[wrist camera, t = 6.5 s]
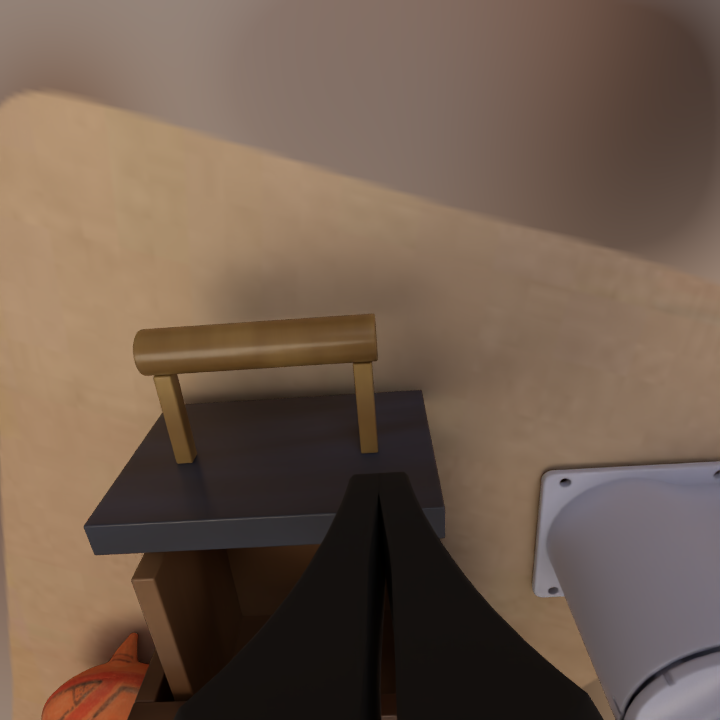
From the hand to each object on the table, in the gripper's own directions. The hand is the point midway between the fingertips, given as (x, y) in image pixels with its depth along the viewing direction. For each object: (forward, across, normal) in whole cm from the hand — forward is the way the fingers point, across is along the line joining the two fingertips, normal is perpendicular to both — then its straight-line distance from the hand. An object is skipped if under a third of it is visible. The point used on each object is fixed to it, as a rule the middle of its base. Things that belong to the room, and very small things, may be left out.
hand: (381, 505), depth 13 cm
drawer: (+9, +4, +6) cm, 11 cm away
